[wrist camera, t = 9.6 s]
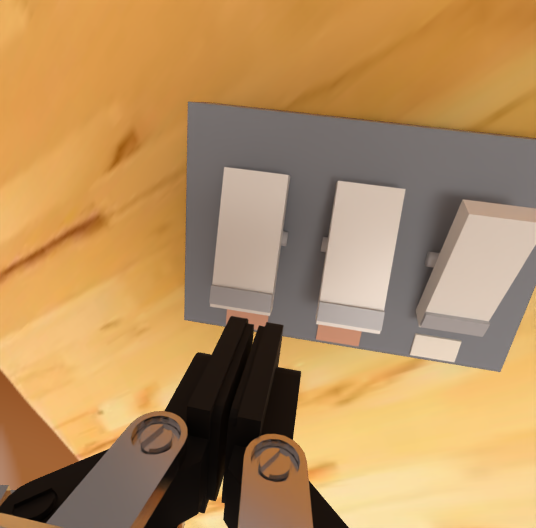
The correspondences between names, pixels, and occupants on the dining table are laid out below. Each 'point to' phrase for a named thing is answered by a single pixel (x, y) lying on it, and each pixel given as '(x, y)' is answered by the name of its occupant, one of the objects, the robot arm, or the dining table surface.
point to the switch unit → (320, 211)
